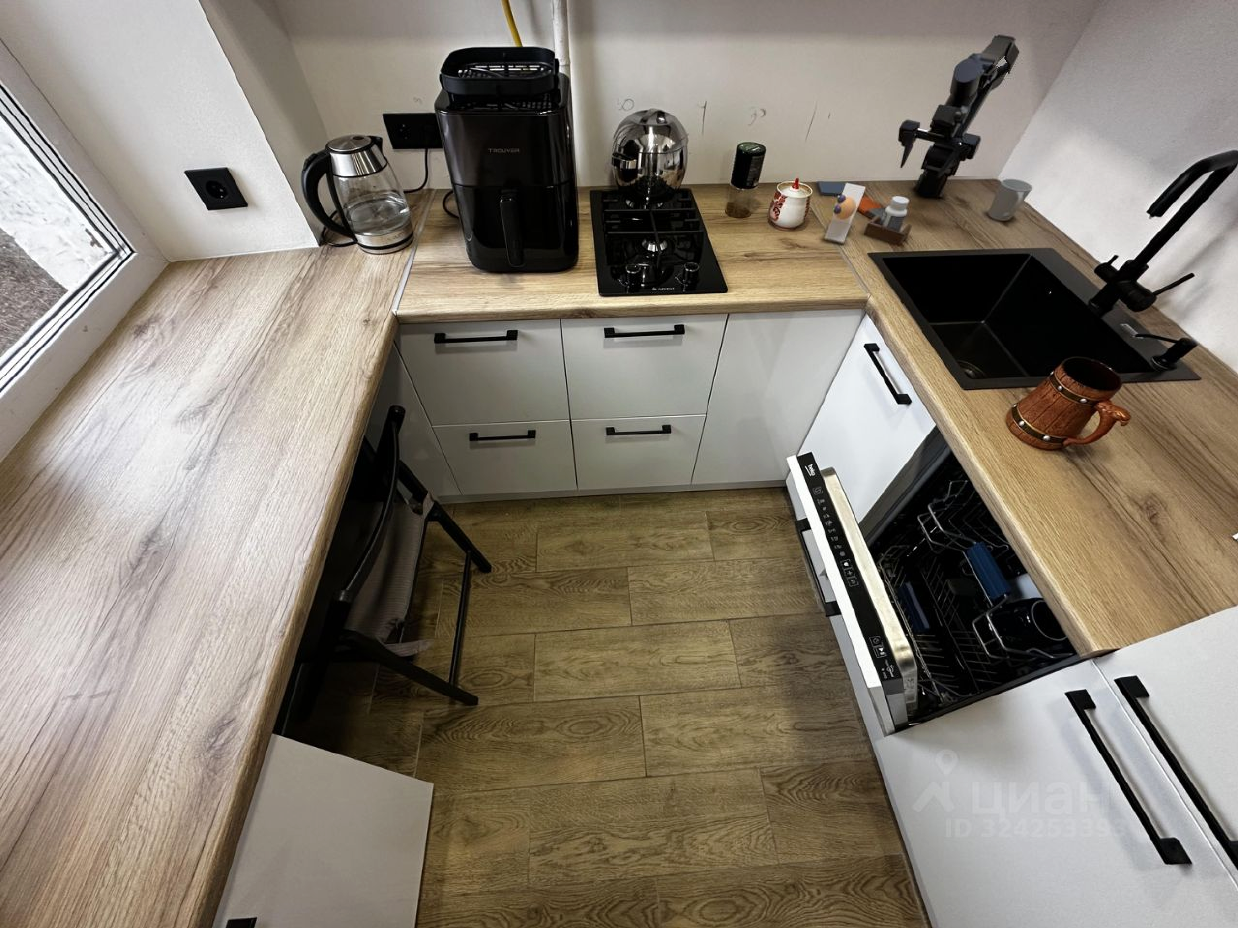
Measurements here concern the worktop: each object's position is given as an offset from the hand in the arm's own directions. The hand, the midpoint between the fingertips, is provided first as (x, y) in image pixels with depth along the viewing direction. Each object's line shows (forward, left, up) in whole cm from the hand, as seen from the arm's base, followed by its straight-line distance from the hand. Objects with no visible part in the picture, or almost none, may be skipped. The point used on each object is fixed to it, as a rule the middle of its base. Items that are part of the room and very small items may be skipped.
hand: (919, 172), depth 132 cm
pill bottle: (+4, +7, -13) cm, 15 cm away
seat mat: (+12, -19, -13) cm, 26 cm away
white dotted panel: (+17, +8, -13) cm, 23 cm away
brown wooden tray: (+4, +7, -13) cm, 15 cm away
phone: (+5, -5, -13) cm, 15 cm away
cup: (-30, -7, -13) cm, 33 cm away
